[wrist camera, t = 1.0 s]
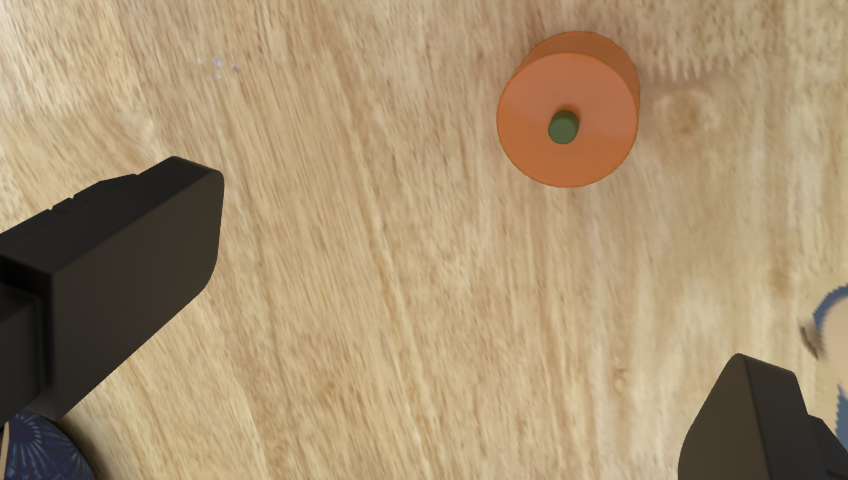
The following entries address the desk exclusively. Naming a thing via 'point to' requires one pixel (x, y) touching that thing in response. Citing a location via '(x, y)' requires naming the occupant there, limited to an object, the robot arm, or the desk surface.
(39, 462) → the planter
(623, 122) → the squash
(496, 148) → the desk surface
